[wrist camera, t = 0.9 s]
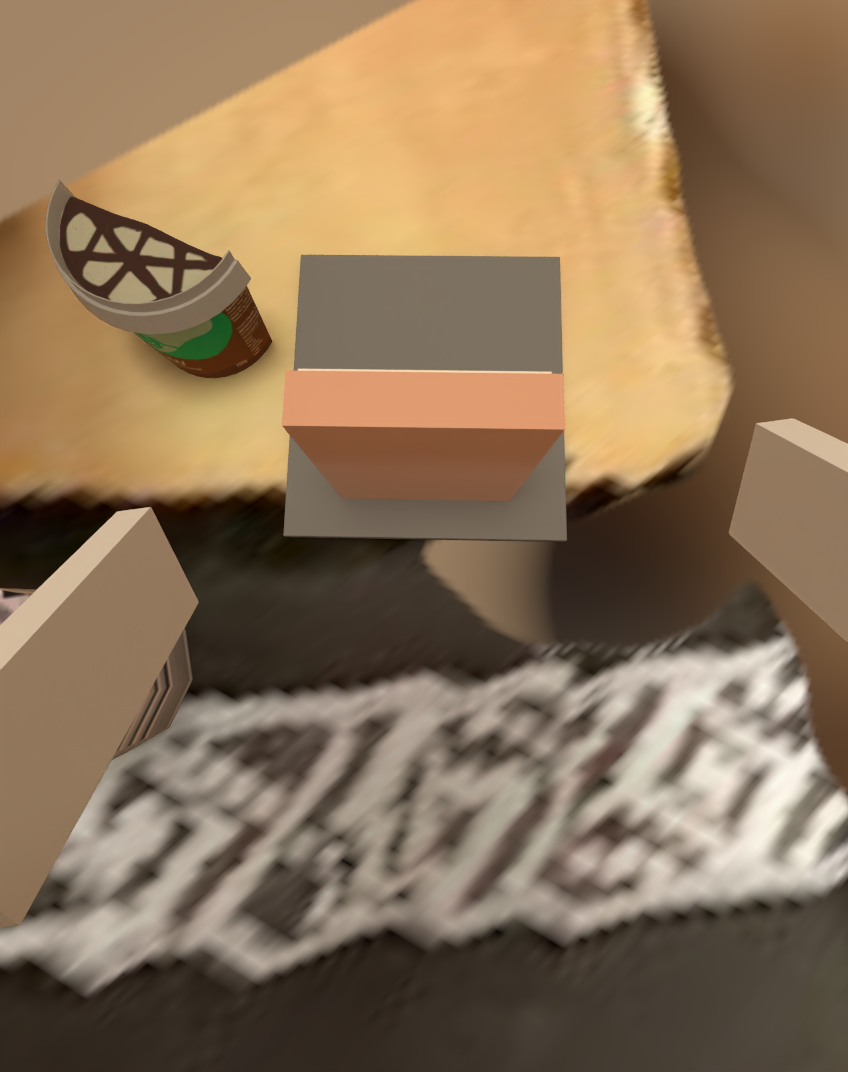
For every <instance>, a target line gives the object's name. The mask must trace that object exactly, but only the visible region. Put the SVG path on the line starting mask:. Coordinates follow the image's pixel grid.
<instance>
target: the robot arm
mask: <svg viewBox="0 0 848 1072" xmlns="http://www.w3.org/2000/svg"><path fill="white" fill-rule="evenodd" d="M729 534H730V535H731V536H732V537H733V538H734V539H735V540H736V541H737V542H738V543H740V544H741V545H742V546H743V547H744V548H745V549H746V550H747V551H749V553H750V554H752V555H753V556H754V557H755V558H756V559H757V560H758V561H759V562H760V563H761V564H762V565H764V566H765V567H766V568H767V569H768V570H769V571H770V572H771V573H772V574H774V575H775V576H776V577H777V578H778V579H779V580H780V581H781V582H782V583H783V584H785V586H787V587H788V588H789V589H790V590H791V591H792V592H793V593H794V594H795V595H796V596H798V597H799V598H800V599H801V600H802V601H803V602H804V603H805V604H807V606H808V607H809V608H811V609H812V610H813V611H814V612H815V613H816V614H817V615H818V616H819V617H821V618H822V619H823V620H824V621H825V622H826V623H827V624H828V625H829V626H830V627H831V628H833V629H834V630H835V631H836V632H837V633H838V634H839V635H840V636H841V637H842V638H843V639H844V640H846V641H847V642H848V444H847V443H845V442H842V441H840V440H838V439H836V438H834V437H832V436H830V435H828V434H825V433H823V432H821V431H819V430H817V429H815V428H813V427H811V426H808V425H806V424H804V423H802V422H800V421H798V420H796V419H785V420H778V421H771V422H764V423H757V424H756V426H755V430H754V434H753V438H752V443H751V446H750V450H749V454H748V459H747V462H746V466H745V470H744V474H743V478H742V482H741V486H740V491H739V494H738V498H737V502H736V506H735V510H734V514H733V518H732V522H731V526H730V530H729ZM198 603H199V602H198V600H197V598H196V596H195V594H194V592H193V590H192V588H191V586H190V584H189V582H188V580H187V578H186V576H185V574H184V572H183V570H182V568H181V566H180V564H179V562H178V560H177V558H176V556H175V554H174V552H173V550H172V548H171V546H170V544H169V542H168V540H167V538H166V536H165V534H164V532H163V530H162V528H161V526H160V524H159V522H158V520H157V518H156V516H155V514H154V512H153V510H152V508H151V507H147V508H140V509H133V510H126V511H118V512H116V513H115V514H114V515H113V516H112V517H111V518H110V519H109V520H108V521H107V522H106V523H105V524H104V525H103V526H102V527H101V528H100V529H99V530H98V531H97V532H96V533H95V534H94V535H93V536H92V537H91V538H90V539H89V540H88V541H86V542H85V543H84V544H83V545H82V546H81V547H80V548H79V549H78V550H77V551H76V552H75V553H74V554H73V555H72V556H71V557H70V558H69V559H68V560H67V561H66V562H65V563H64V564H63V565H62V566H61V567H60V568H59V569H58V570H57V571H56V572H55V573H54V574H53V575H52V576H50V577H49V578H48V579H47V580H46V581H45V582H44V583H43V584H42V585H41V586H40V587H39V588H38V589H37V590H36V591H35V592H34V593H33V594H32V595H31V596H30V597H29V598H28V599H27V600H26V601H25V602H24V603H23V604H22V605H21V606H20V607H19V608H18V609H17V610H15V611H14V612H13V613H12V614H11V615H10V616H9V617H8V618H7V619H6V620H5V621H4V622H3V623H2V624H1V625H0V927H8V926H17V925H20V924H21V922H22V921H23V919H24V917H25V915H26V913H27V911H28V910H29V908H30V906H31V904H32V902H33V901H34V899H35V897H36V895H37V893H38V892H39V890H40V888H41V886H42V884H43V883H44V881H45V879H46V877H47V875H48V874H49V872H50V870H51V868H52V866H53V865H54V863H55V861H56V859H57V857H58V855H59V854H60V852H61V850H62V848H63V846H64V845H65V843H66V841H67V839H68V837H69V836H70V834H71V832H72V830H73V828H74V827H75V825H76V823H77V821H78V819H79V818H80V816H81V814H82V812H83V810H84V809H85V807H86V805H87V803H88V801H89V799H90V798H91V796H92V794H93V792H94V790H95V789H96V787H97V785H98V783H99V781H100V780H101V778H102V776H103V774H104V772H105V771H106V769H107V767H108V765H109V763H110V762H111V760H112V758H113V756H114V754H115V753H116V751H117V749H118V747H119V745H120V743H121V742H122V740H123V738H124V736H125V734H126V733H127V731H128V729H129V727H130V725H131V724H132V722H133V720H134V718H135V716H136V715H137V713H138V711H139V709H140V707H141V706H142V704H143V702H144V700H145V698H146V697H147V695H148V693H149V691H150V689H151V687H152V686H153V684H154V682H155V680H156V678H157V677H158V675H159V673H160V671H161V669H162V668H163V666H164V664H165V662H166V660H167V659H168V657H169V655H170V653H171V651H172V650H173V648H174V646H175V644H176V642H177V641H178V639H179V637H180V635H181V633H182V631H183V630H184V628H185V626H186V624H187V622H188V621H189V619H190V617H191V615H192V613H193V612H194V610H195V608H196V606H197V604H198Z"/></svg>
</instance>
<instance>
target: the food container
mask: <svg viewBox="0 0 848 1072" xmlns="http://www.w3.org/2000/svg"><path fill="white" fill-rule="evenodd" d="M46 236H47V241H48V246H49V249H50V251H51V254H52V256H53V259H54V261H55V263H56V266H57V269H58V270H59V272H60V274H61V275H62V277H63V278H64V280H65V282H66V283H67V284H68V286H69V287H70V288H71V290H72V291H73V293H74V294H75V295H76V297H77V298H78V299H79V301H80V302H81V303H82V304H83V305H84V306H85V307H86V308H87V309H88V310H89V311H90V312H91V313H92V314H94V315H95V316H96V317H98V318H99V319H100V320H102V321H104V322H106V323H108V324H110V325H112V326H114V327H117V328H120V329H122V330H125V331H129V332H134V333H135V334H137V335H138V336H139V337H141V338H142V339H143V340H144V341H146V342H147V343H148V344H150V345H151V346H152V347H153V348H155V349H156V350H157V351H159V352H160V353H161V354H162V355H164V356H165V357H166V358H168V359H169V360H170V361H171V362H173V363H174V364H175V365H177V366H178V367H179V368H180V369H182V370H184V371H186V372H188V373H190V374H193V375H196V376H199V377H205V378H219V377H226V376H229V375H233V374H236V373H238V372H240V371H242V370H245V369H246V368H248V367H249V366H251V365H252V364H254V363H255V362H256V361H257V360H258V359H259V358H260V357H261V356H262V355H263V354H264V353H265V352H266V350H267V349H268V347H269V346H270V344H271V342H272V340H271V337H270V335H269V333H268V331H267V329H266V327H265V324H264V322H263V320H262V318H261V316H260V314H259V311H258V309H257V307H256V305H255V303H254V301H253V298H252V296H251V294H250V292H249V290H248V288H247V284H248V283H249V281H250V280H251V278H250V276H249V275H248V274H247V272H246V271H245V270H244V268H243V267H242V265H241V264H240V263H239V261H238V260H235V259H234V257H233V256H232V254H231V253H230V251H229V250H228V251H227V253H226V254H225V256H224V257H223V258H221V257H219V256H214V255H212V254H209V253H206V252H204V251H202V250H199V249H197V248H195V247H192V246H190V245H188V244H186V243H184V242H182V241H180V240H178V239H175V238H174V237H172V236H170V235H168V234H166V233H164V232H162V231H160V230H158V229H156V228H153V227H151V226H149V225H147V224H145V223H142V222H139V221H136V220H133V219H129V218H126V217H122V216H119V215H116V214H113V213H111V212H109V211H106V210H104V209H101V208H99V207H96V206H94V205H92V204H89V203H87V202H84V201H82V200H80V199H77V198H76V197H75V196H74V195H73V194H72V193H71V192H70V191H69V190H68V189H67V188H66V187H65V186H64V185H63V183H62V182H61V181H59V180H58V182H57V184H56V186H55V188H54V190H53V192H52V195H51V197H50V200H49V203H48V207H47V214H46Z"/></svg>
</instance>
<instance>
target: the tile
mask: <svg viewBox="0 0 848 1072" xmlns="http://www.w3.org/2000/svg"><path fill="white" fill-rule="evenodd" d="M282 426H283V427H284V428H285V430H286V431H287V432H288V433H289V435H290V436H291V437H292V438H293V439H294V441H295V442H296V443H297V444H298V446H299V447H300V448H301V449H302V450H303V452H304V453H305V454H306V455H307V456H308V458H309V459H310V460H311V461H312V463H313V464H314V465H315V466H316V467H317V469H318V470H319V471H320V472H321V473H322V475H323V476H324V477H325V478H326V480H327V481H328V482H329V483H330V484H331V486H332V487H333V488H334V489H335V491H336V492H337V493H338V494H339V495H340V497H341V498H351V499H414V500H477V501H510V500H511V499H512V498H513V496H514V495H515V494H516V492H517V491H518V490H519V488H520V487H521V486H522V485H523V483H524V482H525V481H526V479H527V478H528V477H529V475H530V474H531V473H532V472H533V470H534V469H535V468H536V466H537V465H538V464H539V462H540V461H541V460H542V459H543V457H544V456H545V455H546V453H547V452H548V451H549V449H550V448H551V447H552V446H553V444H554V443H555V442H556V440H557V439H558V438H559V436H560V435H561V434H562V433H563V431H564V430H565V416H564V375H563V374H552V372H538V371H454V370H370V369H298V371H286V374H285V389H284V405H283V420H282Z"/></svg>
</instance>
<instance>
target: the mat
mask: <svg viewBox="0 0 848 1072" xmlns="http://www.w3.org/2000/svg"><path fill="white" fill-rule="evenodd" d="M298 369H370V370H454V371H538V372H552V374H563V367H562V326H561V285H560V257H496V256H378V255H301V262H300V278H299V294H298V311H297V327H296V343H295V359H294V371H298ZM284 536H286V537H310V538H368V539H427V540H489V541H546V542H547V541H548V542H564V541H566V540H567V533H566V491H565V450H564V431H563V433H562V434H561V435H560V436H559V438H558V439H557V440H556V442H555V443H554V444H553V446H552V447H551V448H550V449H549V451H548V452H547V453H546V455H545V456H544V457H543V459H542V460H541V461H540V462H539V464H538V465H537V466H536V468H535V469H534V470H533V472H532V473H531V474H530V475H529V477H528V478H527V479H526V481H525V482H524V483H523V485H522V486H521V487H520V488H519V490H518V491H517V492H516V494H515V495H514V496H513V498H512V499H511V500H510V501H477V500H414V499H351V498H341V497H340V495H339V494H338V493H337V492H336V491H335V489H334V488H333V487H332V486H331V484H330V483H329V482H328V481H327V480H326V478H325V477H324V476H323V475H322V473H321V472H320V471H319V470H318V469H317V467H316V466H315V465H314V464H313V463H312V461H311V460H310V459H309V458H308V456H307V455H306V454H305V453H304V452H303V450H302V449H301V448H300V447H299V446H298V444H297V443H296V442H295V441H294V439H293V438H292V437H291V436H290V441H289V457H288V473H287V489H286V506H285V522H284Z"/></svg>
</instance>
